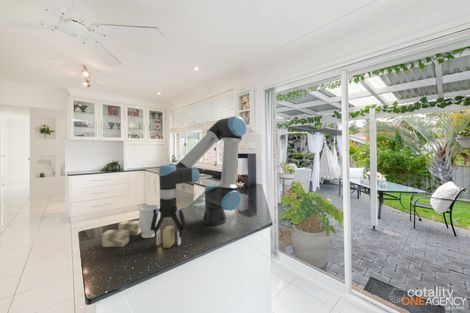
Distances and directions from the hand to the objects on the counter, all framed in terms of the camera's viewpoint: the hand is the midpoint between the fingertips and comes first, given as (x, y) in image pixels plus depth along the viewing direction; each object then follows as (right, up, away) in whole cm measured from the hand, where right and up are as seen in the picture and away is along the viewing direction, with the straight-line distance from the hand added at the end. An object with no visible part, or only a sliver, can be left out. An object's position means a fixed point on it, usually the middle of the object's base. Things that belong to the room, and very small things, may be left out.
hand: (168, 244), depth 97 cm
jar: (-14, 0, +11) cm, 18 cm away
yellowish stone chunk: (0, 0, 0) cm, 0 cm away
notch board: (-26, 0, +7) cm, 27 cm away
